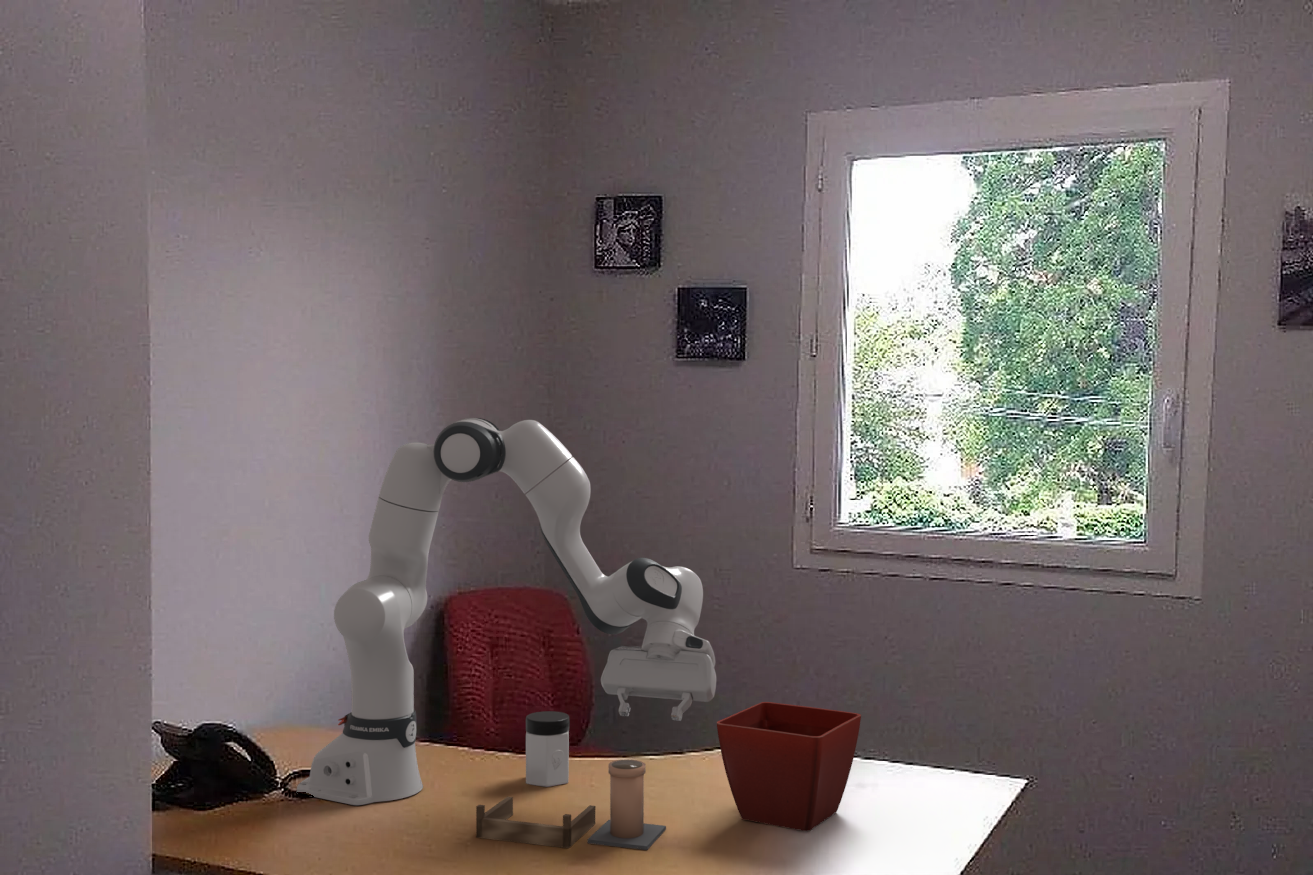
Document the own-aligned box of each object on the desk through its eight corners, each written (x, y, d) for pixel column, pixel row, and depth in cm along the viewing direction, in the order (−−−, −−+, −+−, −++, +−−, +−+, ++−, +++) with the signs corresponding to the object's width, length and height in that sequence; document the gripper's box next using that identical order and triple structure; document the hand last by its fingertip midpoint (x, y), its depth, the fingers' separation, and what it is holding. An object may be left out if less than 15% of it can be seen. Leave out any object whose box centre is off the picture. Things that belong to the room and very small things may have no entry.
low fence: (476, 837, 193) (476, 806, 193) (507, 814, 204) (507, 784, 204) (568, 848, 188) (568, 816, 188) (595, 823, 199) (595, 793, 199)
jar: (536, 789, 218) (536, 724, 218) (516, 778, 224) (516, 715, 224) (579, 781, 223) (579, 717, 222) (558, 771, 229) (558, 708, 229)
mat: (587, 843, 190) (587, 839, 190) (608, 823, 200) (608, 819, 200) (647, 850, 187) (647, 846, 187) (665, 829, 197) (665, 825, 197)
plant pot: (763, 792, 217) (763, 699, 217) (862, 810, 207) (863, 713, 207) (713, 822, 200) (713, 722, 200) (819, 843, 191) (819, 738, 190)
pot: (603, 836, 192) (603, 767, 191) (615, 824, 197) (615, 757, 197) (638, 840, 190) (638, 771, 190) (650, 828, 195) (650, 761, 195)
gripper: (607, 635, 214) (587, 701, 205) (718, 642, 208) (702, 711, 199) (615, 655, 219) (596, 721, 210) (724, 663, 212) (709, 731, 203)
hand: (649, 716), depth 204 cm, fingers open, 8 cm apart
